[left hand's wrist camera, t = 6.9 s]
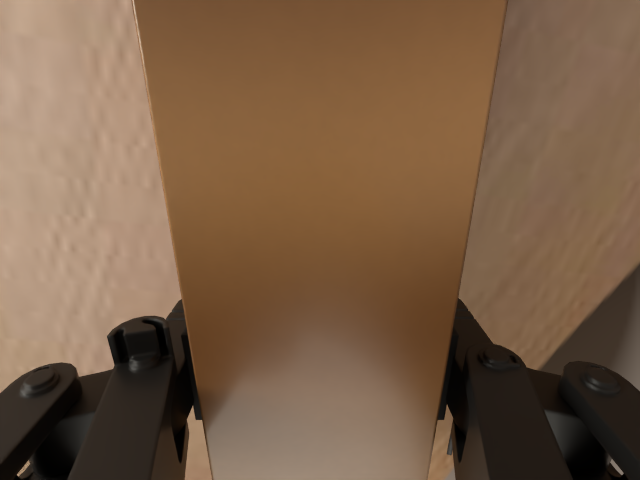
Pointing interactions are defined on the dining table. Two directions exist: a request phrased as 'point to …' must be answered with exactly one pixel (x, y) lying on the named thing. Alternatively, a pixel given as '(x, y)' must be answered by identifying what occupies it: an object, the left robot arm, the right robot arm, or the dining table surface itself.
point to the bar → (319, 218)
